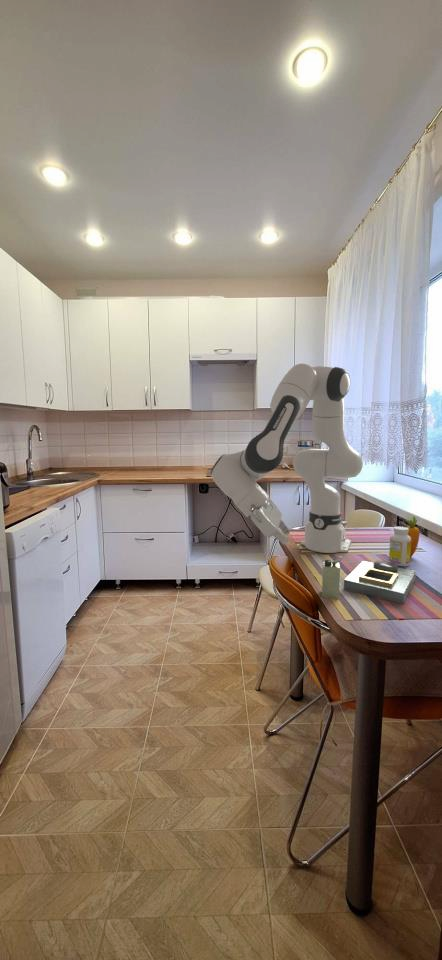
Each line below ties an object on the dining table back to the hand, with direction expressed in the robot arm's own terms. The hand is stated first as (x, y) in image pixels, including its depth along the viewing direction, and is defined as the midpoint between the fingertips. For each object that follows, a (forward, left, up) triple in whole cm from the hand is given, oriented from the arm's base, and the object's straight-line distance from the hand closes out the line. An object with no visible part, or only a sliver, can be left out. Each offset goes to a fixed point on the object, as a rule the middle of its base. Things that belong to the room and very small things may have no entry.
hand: (287, 537), depth 109 cm
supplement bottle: (-44, +22, -16) cm, 52 cm away
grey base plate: (-22, +21, -16) cm, 35 cm away
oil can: (-5, +11, -16) cm, 20 cm away
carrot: (-54, +24, -16) cm, 61 cm away
